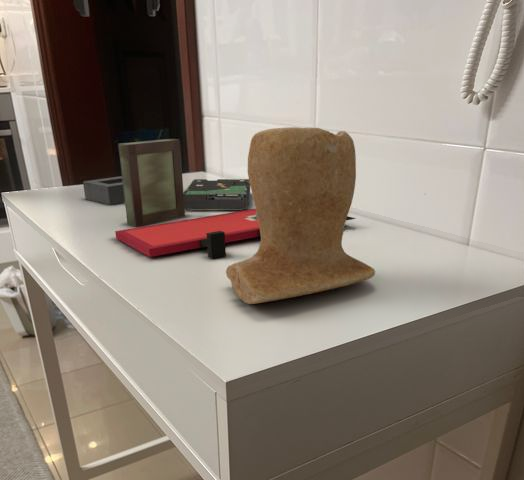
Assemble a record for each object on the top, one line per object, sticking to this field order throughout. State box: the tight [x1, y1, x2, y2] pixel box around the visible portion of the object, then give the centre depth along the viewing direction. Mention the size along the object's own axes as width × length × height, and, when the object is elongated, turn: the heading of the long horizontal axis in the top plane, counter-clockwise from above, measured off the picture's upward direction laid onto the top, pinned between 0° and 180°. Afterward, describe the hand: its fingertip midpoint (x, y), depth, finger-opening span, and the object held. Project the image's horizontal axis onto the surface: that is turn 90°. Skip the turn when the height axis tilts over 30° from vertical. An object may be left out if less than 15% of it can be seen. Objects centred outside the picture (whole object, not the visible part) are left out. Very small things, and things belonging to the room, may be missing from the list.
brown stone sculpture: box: [225, 126, 376, 305], centre depth 53 cm, size 15×12×15 cm
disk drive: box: [183, 178, 251, 211], centre depth 94 cm, size 10×3×15 cm
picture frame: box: [117, 138, 186, 228], centre depth 80 cm, size 9×2×11 cm, turn 137°
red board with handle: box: [114, 208, 357, 260], centre depth 74 cm, size 30×3×15 cm
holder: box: [82, 175, 125, 206], centre depth 100 cm, size 8×14×3 cm, turn 137°
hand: (118, 15), depth 72 cm, fingers open, 8 cm apart
